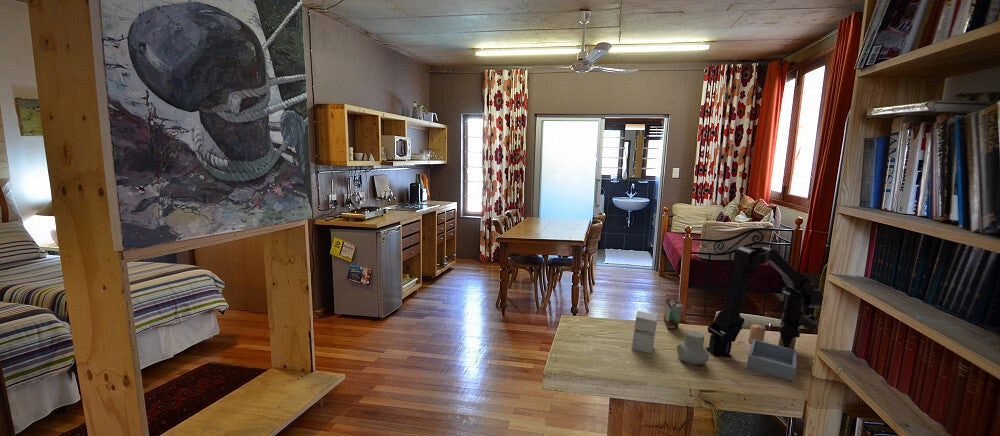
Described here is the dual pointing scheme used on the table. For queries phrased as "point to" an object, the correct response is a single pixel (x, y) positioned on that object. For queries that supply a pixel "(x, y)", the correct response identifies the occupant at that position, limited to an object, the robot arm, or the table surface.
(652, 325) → the supplement box
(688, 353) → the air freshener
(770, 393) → the table surface
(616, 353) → the table surface
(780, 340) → the walnut cube
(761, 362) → the tote
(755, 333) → the terracotta capsule
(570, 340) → the table surface
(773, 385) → the table surface
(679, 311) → the food container
